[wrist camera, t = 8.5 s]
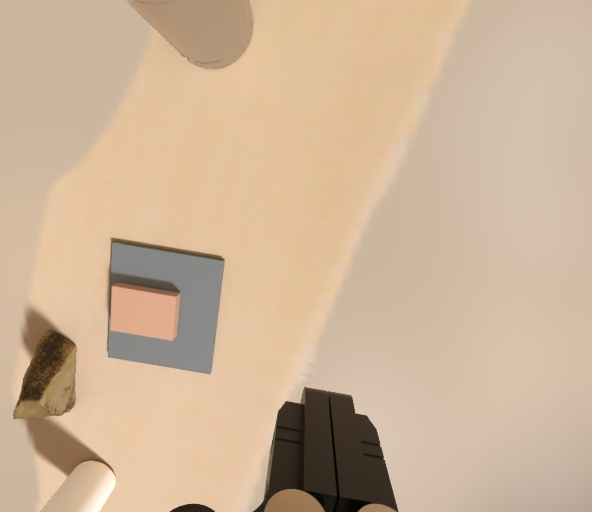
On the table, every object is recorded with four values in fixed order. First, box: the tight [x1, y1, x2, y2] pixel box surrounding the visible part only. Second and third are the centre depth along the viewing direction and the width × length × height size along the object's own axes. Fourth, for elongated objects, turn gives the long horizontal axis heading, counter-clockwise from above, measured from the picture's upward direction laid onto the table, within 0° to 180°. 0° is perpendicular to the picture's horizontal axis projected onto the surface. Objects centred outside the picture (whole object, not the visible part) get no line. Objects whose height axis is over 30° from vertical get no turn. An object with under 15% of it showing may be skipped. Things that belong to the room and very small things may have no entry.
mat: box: [108, 242, 225, 374], centre depth 43 cm, size 16×14×1 cm
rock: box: [13, 330, 76, 419], centre depth 43 cm, size 11×9×10 cm
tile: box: [110, 282, 181, 341], centre depth 42 cm, size 6×2×8 cm
